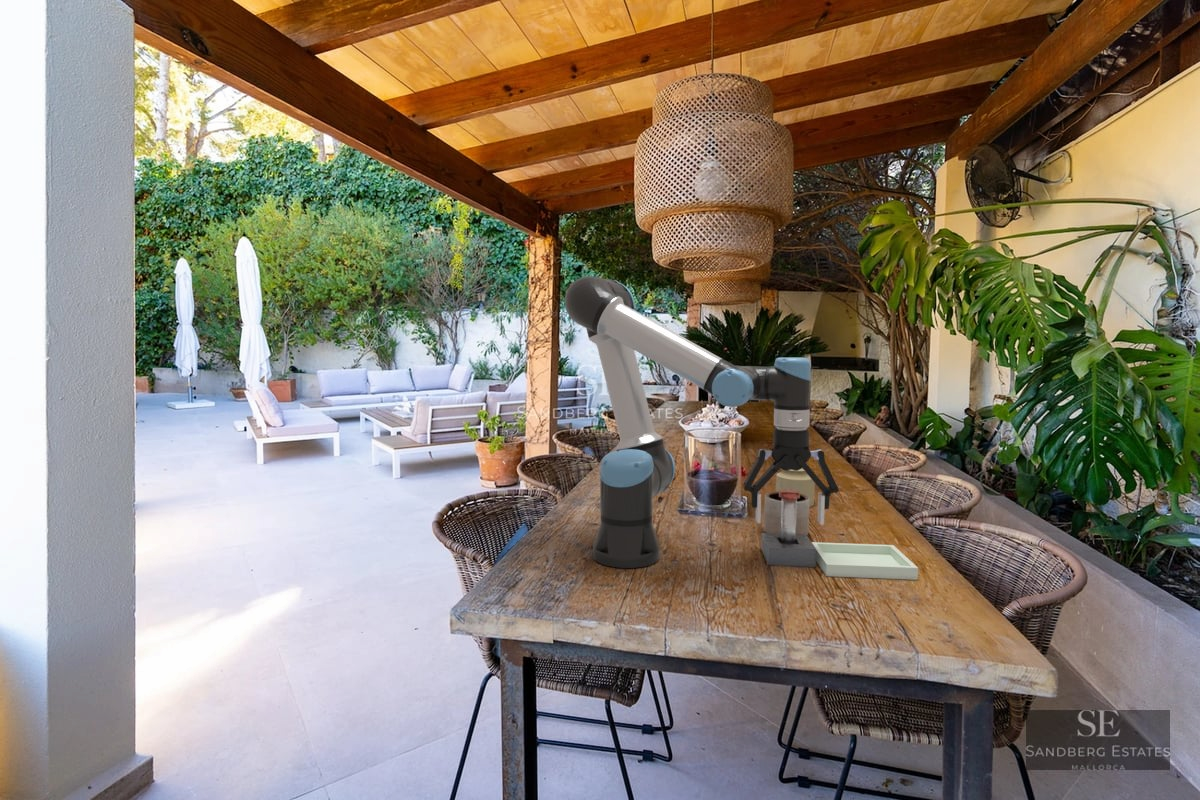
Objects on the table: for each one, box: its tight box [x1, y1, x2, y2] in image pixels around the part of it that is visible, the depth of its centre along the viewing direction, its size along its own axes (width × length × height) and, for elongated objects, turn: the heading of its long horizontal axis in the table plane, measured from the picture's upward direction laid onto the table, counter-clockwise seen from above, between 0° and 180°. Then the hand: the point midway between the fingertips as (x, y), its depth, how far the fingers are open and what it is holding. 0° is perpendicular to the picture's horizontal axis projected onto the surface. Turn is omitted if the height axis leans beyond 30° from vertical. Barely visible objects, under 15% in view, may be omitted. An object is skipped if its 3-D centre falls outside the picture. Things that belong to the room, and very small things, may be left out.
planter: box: [763, 491, 810, 536], centre depth 155 cm, size 11×11×10 cm
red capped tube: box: [779, 489, 800, 544], centre depth 137 cm, size 4×4×15 cm
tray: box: [811, 541, 919, 581], centre depth 133 cm, size 18×14×2 cm
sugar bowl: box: [775, 468, 816, 508], centre depth 185 cm, size 15×11×15 cm
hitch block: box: [760, 532, 817, 568], centre depth 138 cm, size 10×10×4 cm
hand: (789, 522), depth 137 cm, fingers open, 13 cm apart
